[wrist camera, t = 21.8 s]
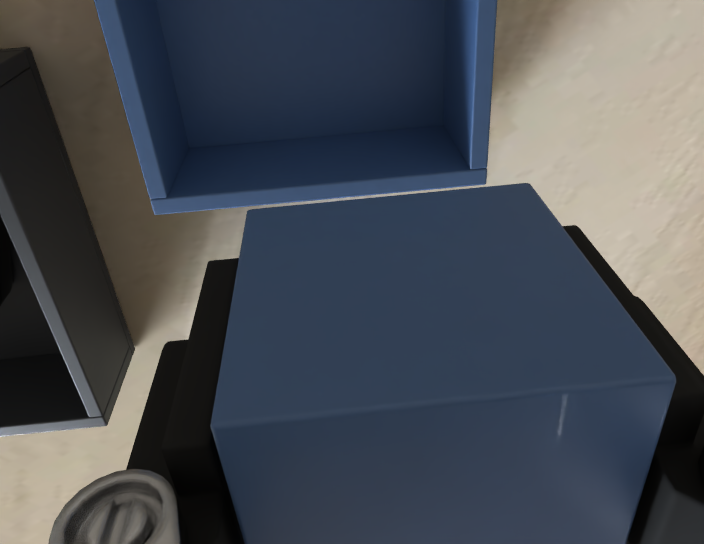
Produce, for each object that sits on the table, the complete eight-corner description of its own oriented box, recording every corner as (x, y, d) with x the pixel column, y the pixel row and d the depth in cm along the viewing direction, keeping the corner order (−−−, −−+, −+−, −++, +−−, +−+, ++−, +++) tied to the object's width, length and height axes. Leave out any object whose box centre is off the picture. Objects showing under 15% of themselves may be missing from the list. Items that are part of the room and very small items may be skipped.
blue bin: (95, -191, 18) (32, -215, 14) (464, -220, 18) (513, -252, 14) (179, 158, 24) (154, 215, 20) (455, 133, 24) (486, 185, 20)
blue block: (246, 208, 9) (208, 426, 6) (530, 181, 9) (681, 378, 6) (284, 410, 12) (276, 656, 8) (509, 387, 12) (604, 620, 8)
